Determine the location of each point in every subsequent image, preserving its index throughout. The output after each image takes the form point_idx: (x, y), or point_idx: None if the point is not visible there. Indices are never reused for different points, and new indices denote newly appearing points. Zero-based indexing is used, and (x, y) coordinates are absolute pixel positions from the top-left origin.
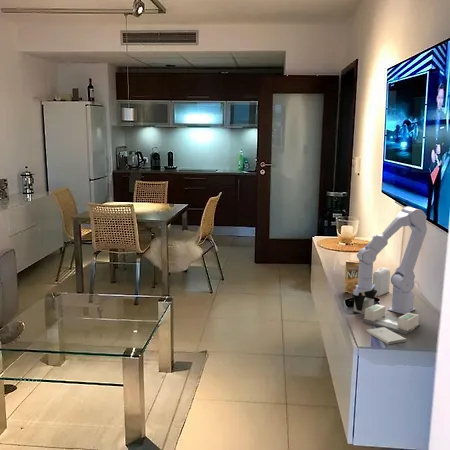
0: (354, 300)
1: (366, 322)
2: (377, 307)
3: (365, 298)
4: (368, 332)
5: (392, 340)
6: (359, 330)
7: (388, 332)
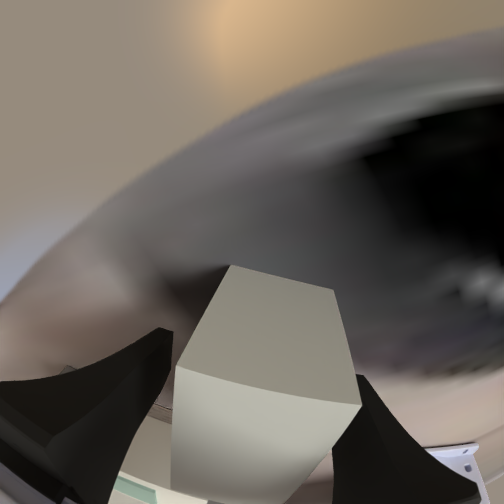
0: (74, 373)
1: None
2: (126, 492)
3: (250, 474)
4: None
5: None
6: (2, 354)
7: None
